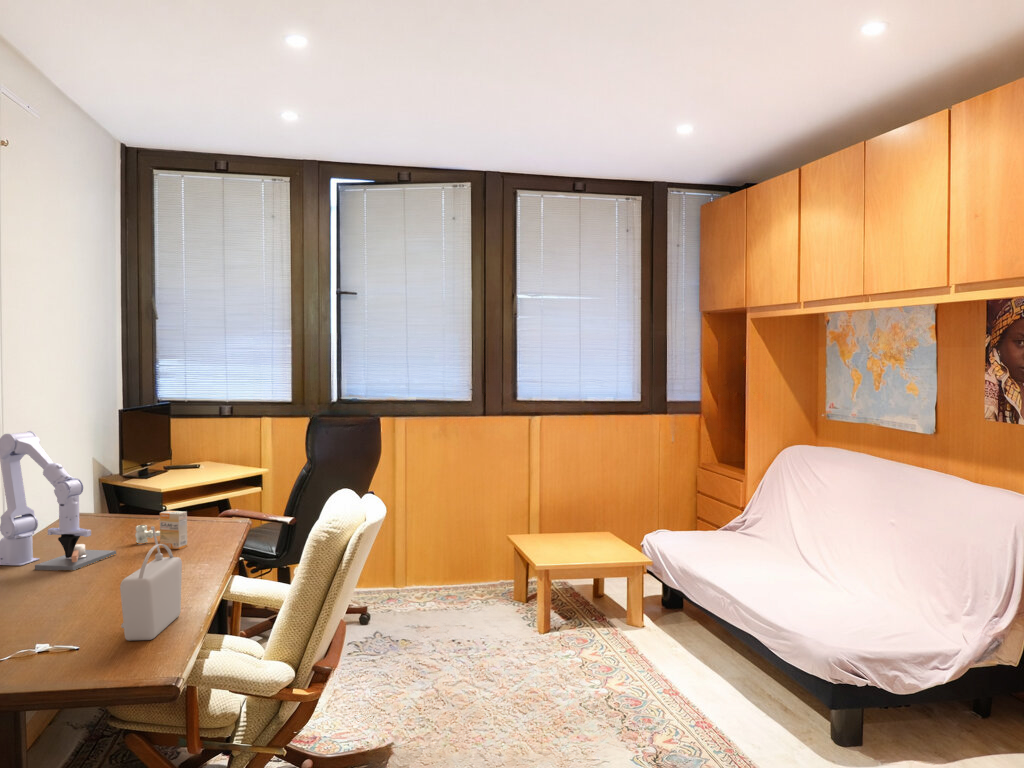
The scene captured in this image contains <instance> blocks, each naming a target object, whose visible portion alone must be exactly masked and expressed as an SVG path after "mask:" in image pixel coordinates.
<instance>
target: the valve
mask: <svg viewBox="0 0 1024 768" xmlns="http://www.w3.org/2000/svg"><path fill="white" fill-rule="evenodd" d="M155 533H156V537H160V530H155ZM135 538H136V539H135V543H136V542H137V543H145V542H148V541H149V540H148V538H149V539H154V536H153V532H152V530H151V529H149V530H148V525H146V524H140V525H136V526H135Z"/></svg>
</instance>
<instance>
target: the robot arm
mask: <svg viewBox="0 0 1024 768" xmlns="http://www.w3.org/2000/svg"><path fill="white" fill-rule="evenodd" d="M26 455H27V456H29V457H30V458H31V459H32V460H33V461H34V462H35V463H36V464H38V466H40V467H41V468H42V469H43V470H42V475H43V477H45V479H46V480H47V481H48V482H49V483H50V484H51V485H52V486H53V488H54V489H53V493H54V496H55V497H56V499H57V500H56V502H57V504H58V527H51V528H48V529H47V535H48V536H51V535H55V536H59V537H58V538H57V540H58V542H59V543H60V544H61V546H62V548H63V550H64V555H65V556H66V558H69V557H72V554H73V552H74V547H75V545H76V544H78V543H77V542H78V540H80V538H81V537H84V538H88V537H90V536H92V530H91V529H87V528H81V527H80V495H81V494H83V491H84V485H83V481H82V480H81V479H80V478H76V477H74V476H71V475H70V474H69V473H68V472H67V470H66V469H65V468H64V466H63V465H62V464H61V463H58V462H54V461H53V460H52V459H51V457H50V456H49V455H48V453H47V452H46V451H45V450H44V448H43V447H42V446H41V438H40V437H39V436H38V435H37V433H36V432H34V431H31V430H29V431H24V432H16V433H14V432H13V433H4V434H3V435H1V437H0V469H1V475H2V482H3V487H4V488H3V489H4V495H5V501H6V508H7V509H6V511H4V512H3V514H1V515H0V534H1V536H3V537H2V538H0V566H24V565H27V564H30V563H33V562H36V561H39V560H40V557H34V553H33V552H34V551H33V549H34V548H33V546H34V545H33V544H34V543H33V535H34V534H35V531H37V529H38V526H39V522H38V518H37V517H36V515H35V511H34V509H32V508H31V507H29V506H28V505H27V498H26V494H25V485H24V481H23V473H22V468H21V459H22V458H23V457H25V456H26Z"/></svg>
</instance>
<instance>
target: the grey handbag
mask: <svg viewBox="0 0 1024 768" xmlns="http://www.w3.org/2000/svg"><path fill="white" fill-rule="evenodd" d="M150 530H152V532H153V539H154V543H155V545H153V546H152V547H151V548H150V549H149V551H148V552H147V554H146V555H145V557H144V558H143V559H144V560H143V562H142V564H141V567H140V568H139V569H137V570H135V571H134V572H133V573H131V574H130V575H128V576H126V577H125V578H123V579H122V581H121V582H120V587H119V590H120V600H121V609H122V621H123V622H121V625H120V628H121V629H123V630H124V631H123V633H124V639H125V640H126V641H130V642H131V641H150V640H151V641H152V640H153V639H155V638H156V637H157V636H159V634H160V633H161V632H163V631H164V630H165V629H166V628H167V627H169V625H170V624H171V623H173V622H174V621H175V620H176V619H177V618H178V617H179V616H180V615H181V606H182V605H181V604H182V578H183V577H182V570H183V562H182V559H181V557H180V556H179V557H178V556H174V555H173V553H172V549H169V547H168V546H167V545H164V544H160V543H159V541H158V538H157V537H158V536H156V533H155V532H156V528H155V526H154V525H151V526H150ZM160 545H162V546H164V547H165V548H164V549H165V550H166V551H167V553H168V557H167V556H166V557H164V554H163V553H161V548H160ZM155 549H156V551H157V553H155V555H154V559H152V560H151V561H150V562H149V558H150V557H151V555H152V553H153V552H154V550H155Z"/></svg>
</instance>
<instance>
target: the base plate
mask: <svg viewBox="0 0 1024 768" xmlns="http://www.w3.org/2000/svg"><path fill="white" fill-rule="evenodd" d="M114 554H116V555H117V550H105V549H103V550H102V549H101V550H100V549H99V550H98V549H85V555H81V556H79V557H78V560H77V562H72V557H69V558H66V556H65V554H63V555H60V556H57V557H55V558H51V559H49V560H46V561H42V562H41V563H37V564H34V570H37V571H58V570H75V571H77V570H76V569H78V568H80V569H82V568H81V567H83V566H86V565H88V564H91V563H94V562H96V561H99V560H101V559H104V558H106V557H109V556H111V555H114ZM104 560H105V559H104ZM99 562H100V561H99ZM96 563H97V562H96ZM94 564H95V563H94ZM91 565H92V564H91ZM88 566H89V565H88ZM86 567H87V566H86ZM83 568H84V567H83ZM78 570H79V569H78Z"/></svg>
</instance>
